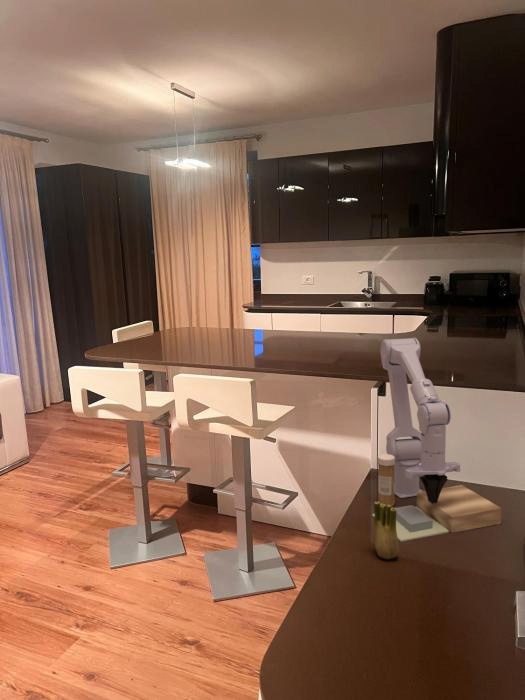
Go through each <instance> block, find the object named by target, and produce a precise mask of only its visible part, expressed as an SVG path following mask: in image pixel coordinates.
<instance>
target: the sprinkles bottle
mask: <svg viewBox="0 0 525 700" xmlns="http://www.w3.org/2000/svg"><path fill="white" fill-rule="evenodd" d="M377 465H378V466H377V467H378V470H377V471H378V473H377V474H378V477H377V481H378V482H377V484H378V487H377V488H378V489H377V491H378V501H377V502H380V504H385V505H386V507H387V505H388V504H389V505H391V507H393V506H395V504H396V499H395V496H396V494H395V476H394V465H395V457H394V456H393V455H390V454H387V453H382V454H379V455H378V456H377Z"/></svg>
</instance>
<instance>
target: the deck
mask: <svg viewBox="0 0 525 700" xmlns="http://www.w3.org/2000/svg"><path fill="white" fill-rule="evenodd" d="M422 491H423V492H417V496H416V507H418V508H419V509H420V510H422V511H423V512H424V513H426V514H427V515H428V516H430V517H431V518H432V519H434V520H435V521H436V522H438V523H439V524H440V525H442V526H443V527H445V528H446V529H447V530H449V533H451V534H454V533H460V532H464V531H470V530H475V529H479V528H485V527H490V526H494V525H500V524H502V507H500V506H498V505H497V504H495V503H494V502H492V501H490V500H488V499H487V498H484V496H481V495H479V494H478V493H476V492H475V491H473V490H471V489H469V488H468V487H466V486H464V485H463V484H460V485H454V486H448V487H443V488H442V490H441V492H440V495H439V498H438V502H437V503H434V504H432V503H431V502H429V501H428V498H427V493H426V490H422Z"/></svg>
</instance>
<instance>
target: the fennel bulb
mask: <svg viewBox="0 0 525 700" xmlns="http://www.w3.org/2000/svg"><path fill="white" fill-rule="evenodd" d="M373 503H374V504H373V506H374V507H373V508H374V509H373V510H374V514H375V518H374V517H373V518H374V523H373V535H374V536H373V537H374V545H375V550H376V553H377V556H378V557H379V558H380V559H383V560H391V559H395V558H396V557H397V556H399V552H400V551H399V550H400V547H399V540H398V537H397V532H396V513H397V511H396V509H395V508H396V507H392V506H391V505H389V504H388V505H387V506H386V505H385V504H380V502H378V501H374V502H373Z"/></svg>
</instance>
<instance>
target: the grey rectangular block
mask: <svg viewBox="0 0 525 700" xmlns="http://www.w3.org/2000/svg"><path fill="white" fill-rule="evenodd" d="M415 507H416V506H414V505H412V504H411V505H405V506H399V507H398V506H397V507H394V508H395V509H396V511H397V513H396V520H397V521H398V522H399V523H400V524H401V525H403V526H404V527H405V528H406V529H407V530H409V531H410V532H416V531H421V530H426V529H431V528H433V520H431V519H430V518H429V517H427V516H426V515H425V514H423V513H422V512H421V511H419V510H418V509H417V508H415Z"/></svg>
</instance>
